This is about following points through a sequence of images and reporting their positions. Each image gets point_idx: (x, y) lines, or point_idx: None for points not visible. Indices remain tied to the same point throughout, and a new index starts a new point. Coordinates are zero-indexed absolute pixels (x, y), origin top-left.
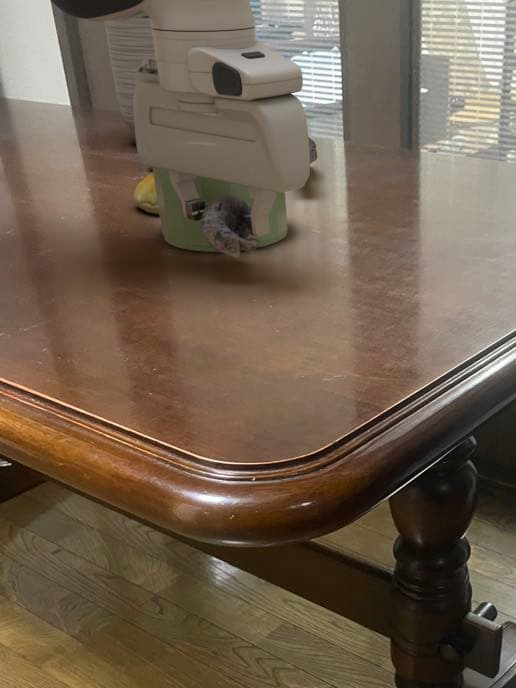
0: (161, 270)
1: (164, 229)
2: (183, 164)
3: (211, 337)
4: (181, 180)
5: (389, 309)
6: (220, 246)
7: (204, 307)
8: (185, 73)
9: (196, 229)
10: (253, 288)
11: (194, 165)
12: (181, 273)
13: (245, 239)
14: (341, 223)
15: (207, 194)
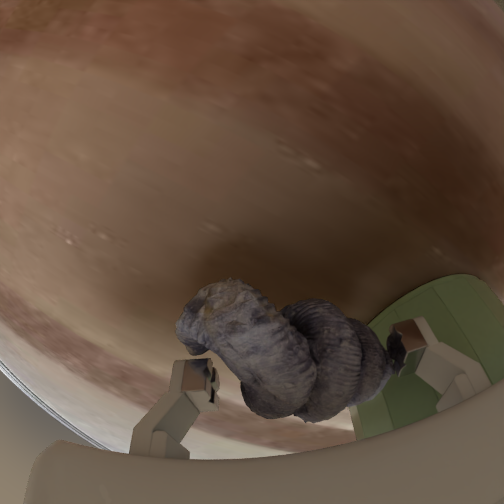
0: (389, 191)
1: (481, 286)
2: (432, 441)
3: (3, 107)
4: (451, 385)
5: (31, 329)
6: (201, 289)
7: (113, 143)
8: None
9: (424, 317)
10: (164, 266)
11: (381, 463)
12: (345, 210)
13: (188, 341)
14: (331, 423)
15: (424, 384)
